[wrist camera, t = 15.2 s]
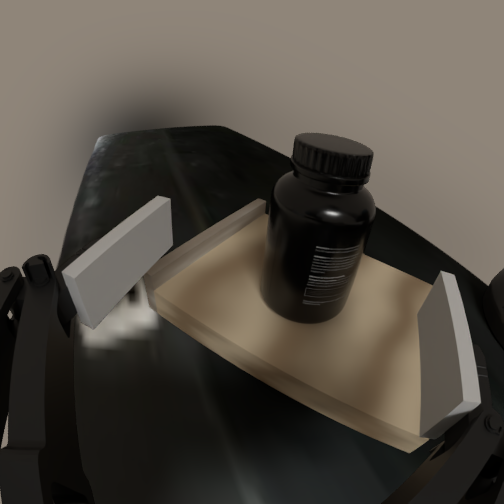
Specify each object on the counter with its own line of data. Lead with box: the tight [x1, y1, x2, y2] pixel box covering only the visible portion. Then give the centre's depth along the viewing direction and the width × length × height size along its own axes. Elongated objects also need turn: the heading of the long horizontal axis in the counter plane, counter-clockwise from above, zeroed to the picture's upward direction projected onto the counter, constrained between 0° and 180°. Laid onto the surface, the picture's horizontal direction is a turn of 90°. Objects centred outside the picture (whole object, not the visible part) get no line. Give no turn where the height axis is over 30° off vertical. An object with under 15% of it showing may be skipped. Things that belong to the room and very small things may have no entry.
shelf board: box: [144, 198, 433, 453], centre depth 24 cm, size 23×16×4 cm
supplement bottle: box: [261, 133, 376, 324], centre depth 20 cm, size 7×7×12 cm
